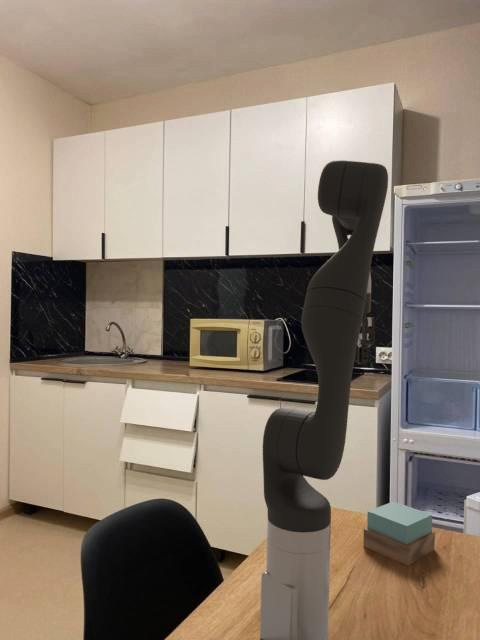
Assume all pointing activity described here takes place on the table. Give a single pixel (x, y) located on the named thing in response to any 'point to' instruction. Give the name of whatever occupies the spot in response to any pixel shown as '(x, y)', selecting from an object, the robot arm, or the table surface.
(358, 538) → the table surface
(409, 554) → the tower base
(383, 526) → the tower top
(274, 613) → the robot arm
